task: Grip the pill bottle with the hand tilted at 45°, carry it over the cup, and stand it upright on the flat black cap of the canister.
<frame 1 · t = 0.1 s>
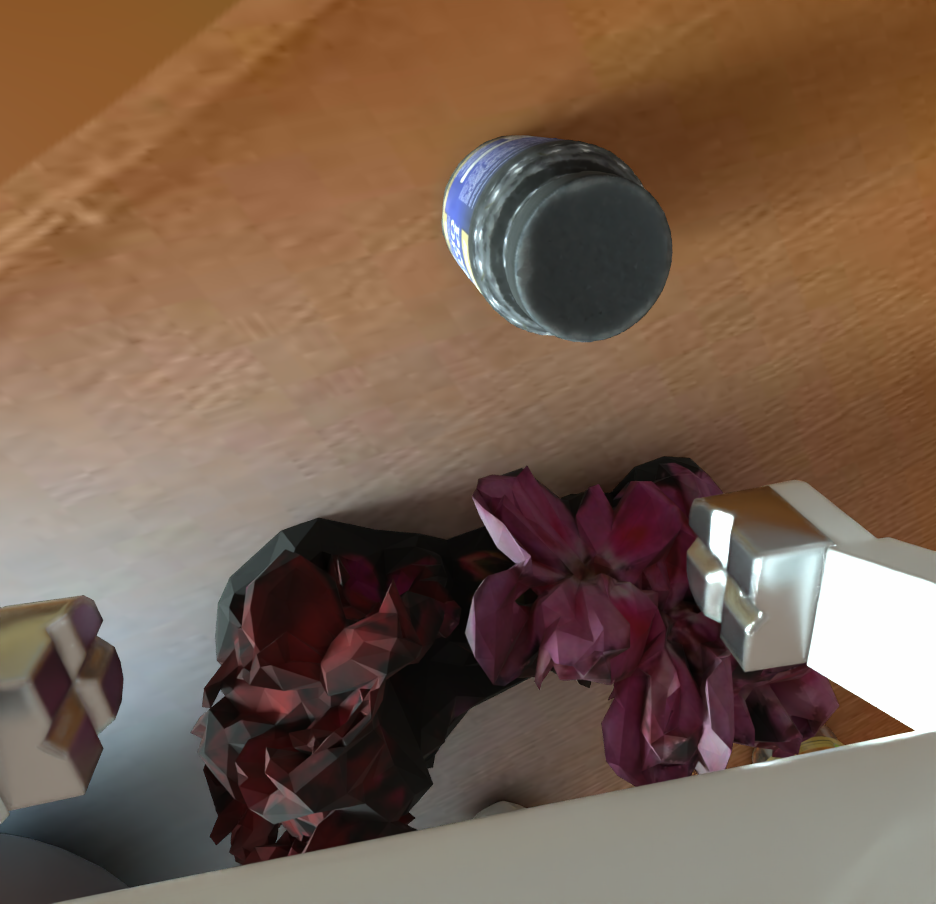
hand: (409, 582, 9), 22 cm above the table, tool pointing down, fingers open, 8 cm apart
flower arrangement: (478, 589, 38), on the table
sauce bottle: (784, 745, 48), on the table
pill bottle: (510, 213, 29), on the table
grey figurine: (506, 806, 46), on the table
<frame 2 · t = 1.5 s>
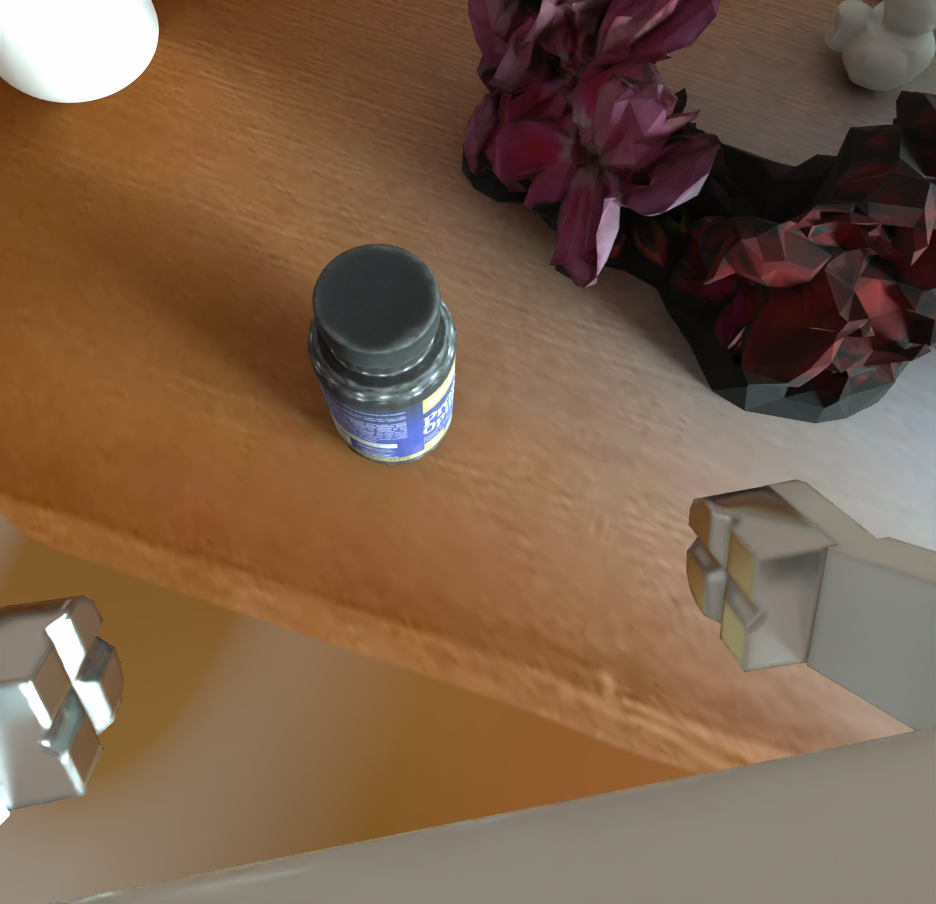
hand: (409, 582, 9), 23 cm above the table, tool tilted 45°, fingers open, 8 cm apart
flower arrangement: (678, 238, 40), on the table
cup: (84, 53, 42), on the table
pill bottle: (393, 412, 35), on the table
grey figurine: (856, 75, 44), on the table
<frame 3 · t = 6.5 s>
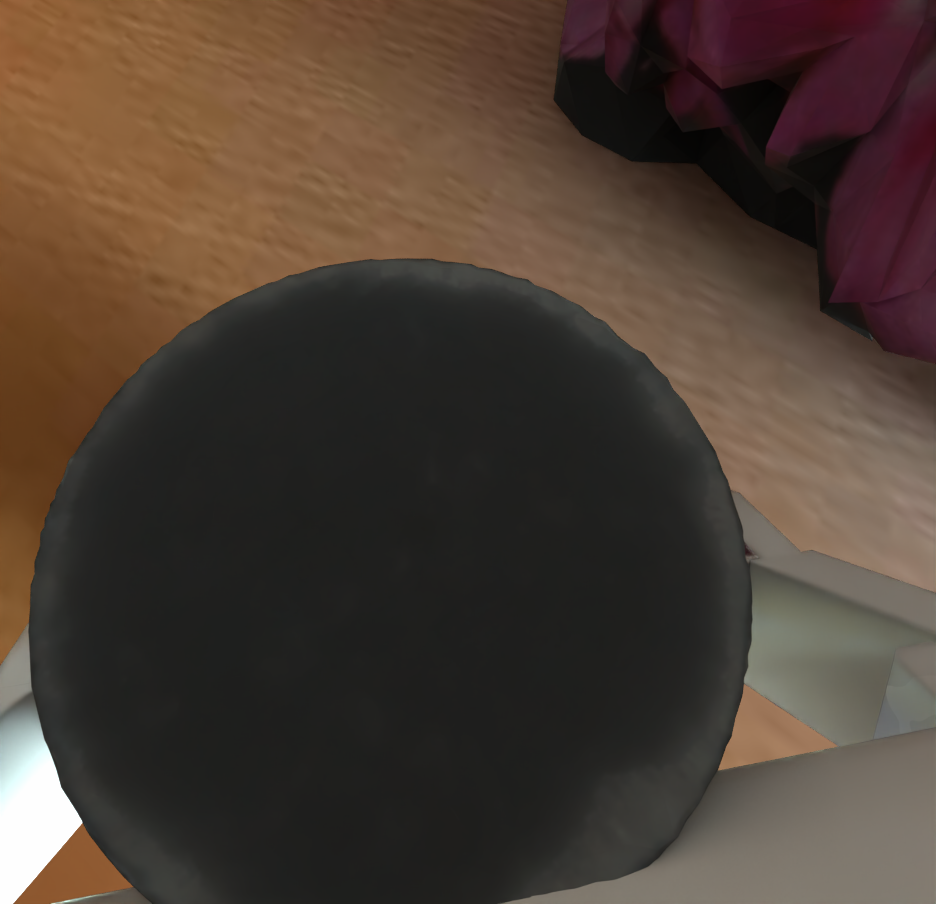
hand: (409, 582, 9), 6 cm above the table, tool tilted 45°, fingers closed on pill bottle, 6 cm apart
pill bottle: (426, 650, 15), on the table, touching gripper
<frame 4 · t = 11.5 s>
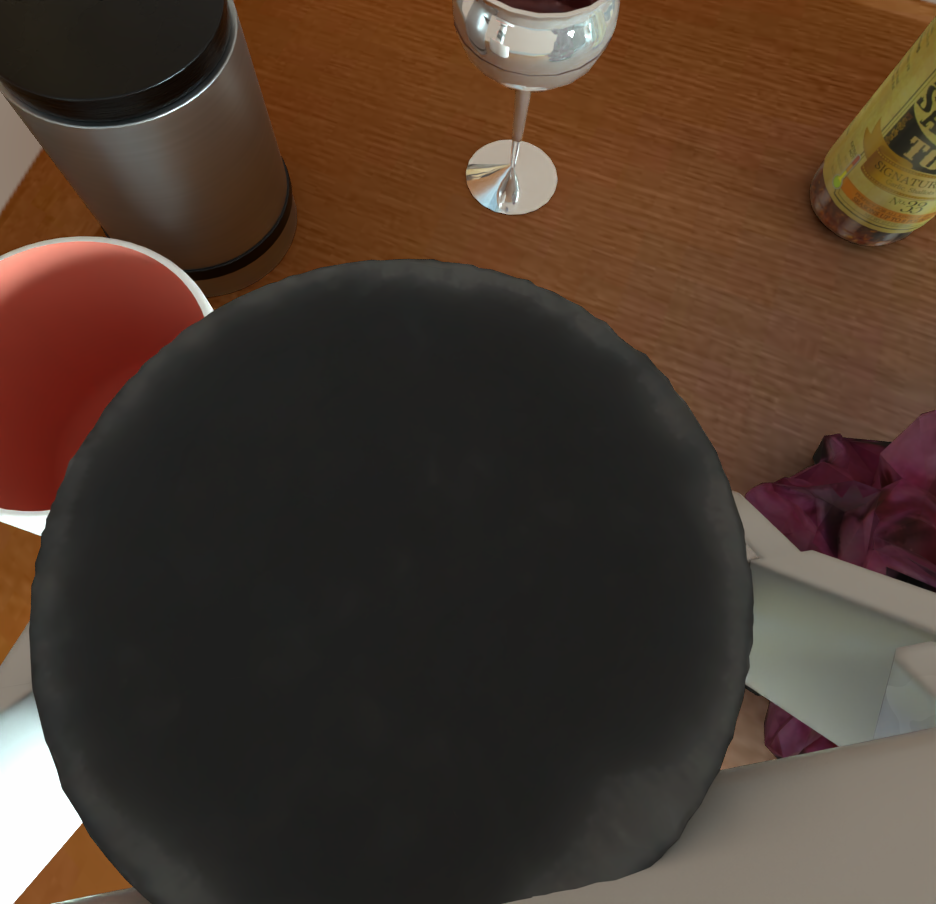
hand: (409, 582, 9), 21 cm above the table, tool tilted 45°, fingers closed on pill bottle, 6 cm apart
wineglass: (511, 178, 37), on the table
sauce bottle: (860, 208, 37), on the table
cup: (178, 463, 31), on the table
canister: (209, 221, 35), on the table
pill bottle: (427, 650, 15), point 15 cm above the table, touching gripper
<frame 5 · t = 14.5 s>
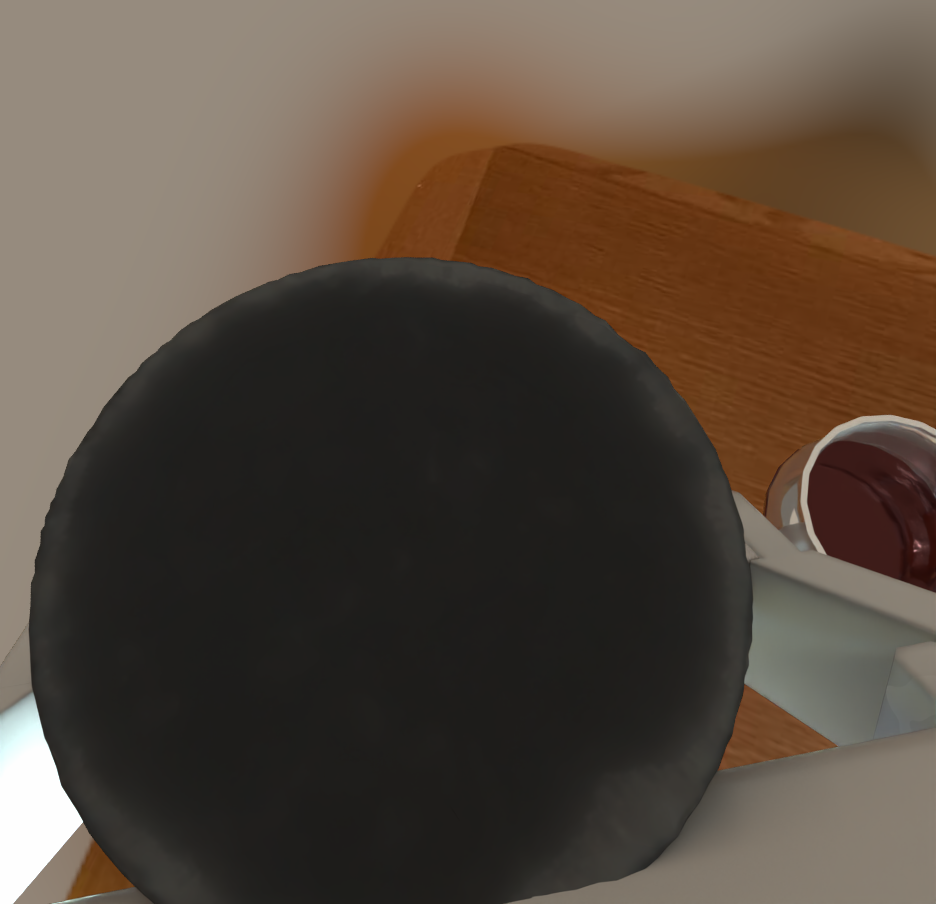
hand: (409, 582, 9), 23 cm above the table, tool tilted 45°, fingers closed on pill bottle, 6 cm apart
wineglass: (742, 570, 33), on the table
pill bottle: (426, 649, 15), point 17 cm above the table, touching gripper
when the fingers open (18 cm above the table, at t = 16.7 s): pill bottle stays where it is, resting on canister.
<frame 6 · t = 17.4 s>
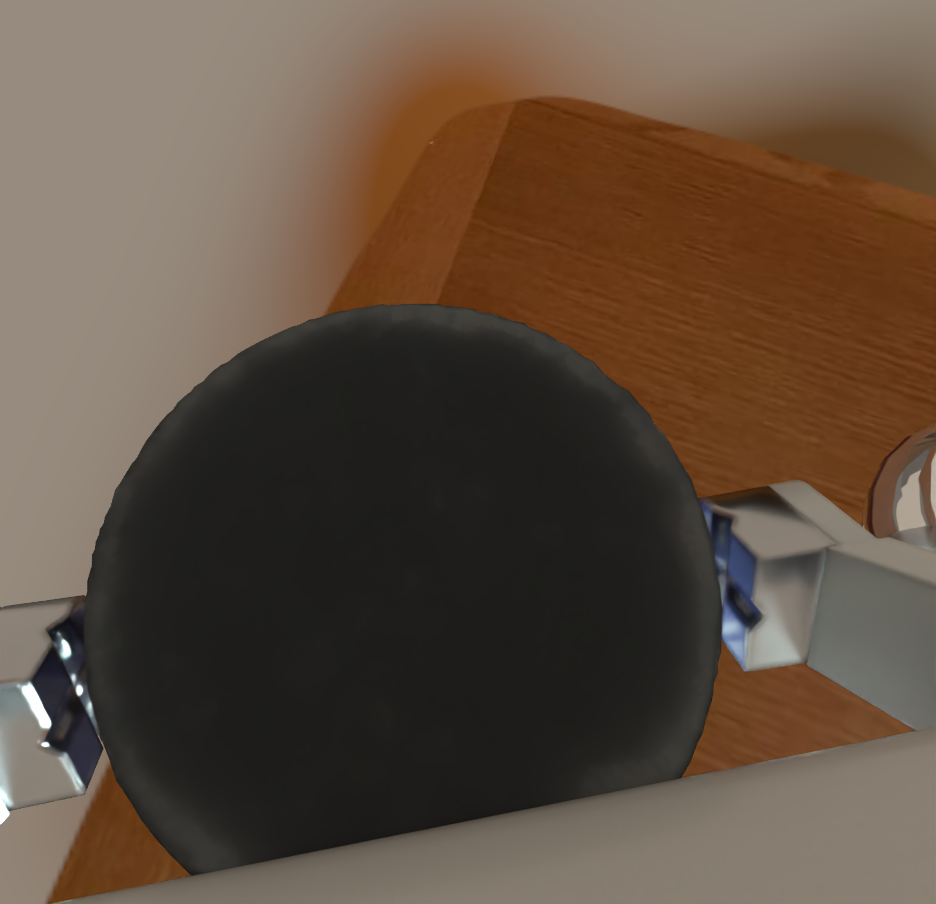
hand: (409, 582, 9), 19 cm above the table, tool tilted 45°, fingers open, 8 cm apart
wineglass: (810, 582, 29), on the table
pill bottle: (429, 651, 16), point 12 cm above the table, touching canister
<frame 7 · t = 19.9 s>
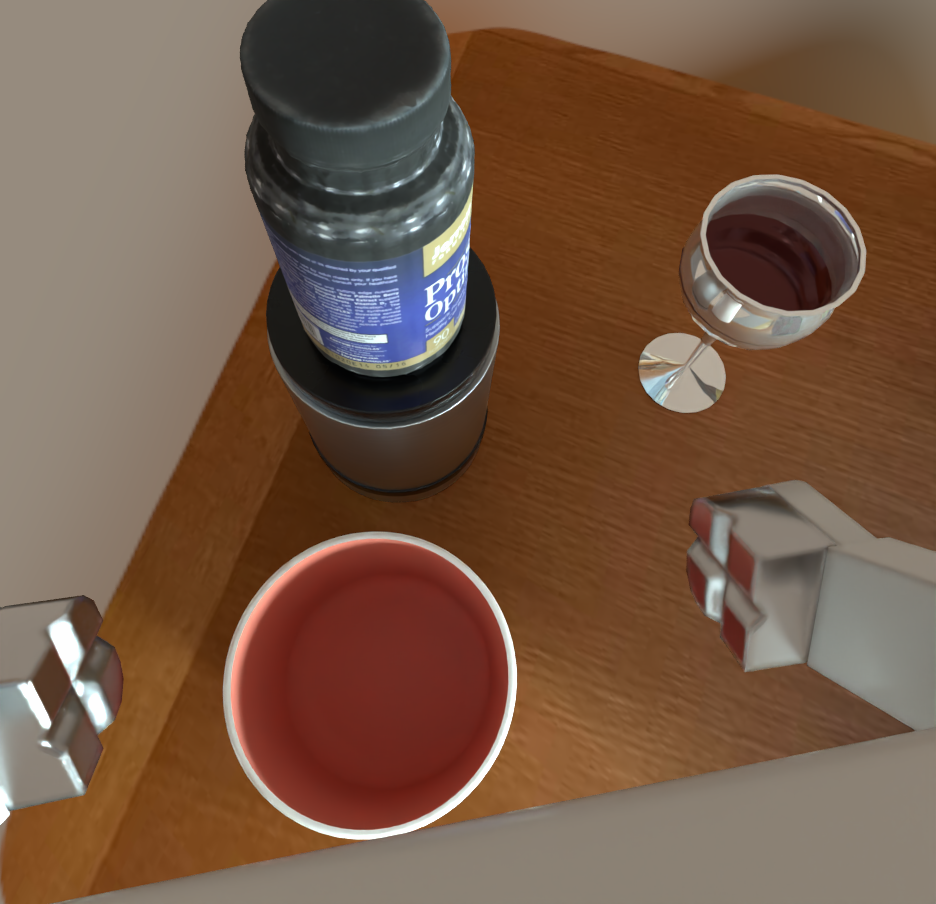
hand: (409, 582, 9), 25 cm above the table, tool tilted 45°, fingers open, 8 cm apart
wineglass: (680, 373, 39), on the table
cup: (391, 676, 33), on the table
canister: (399, 422, 37), on the table
pill bottle: (384, 309, 26), point 12 cm above the table, touching canister
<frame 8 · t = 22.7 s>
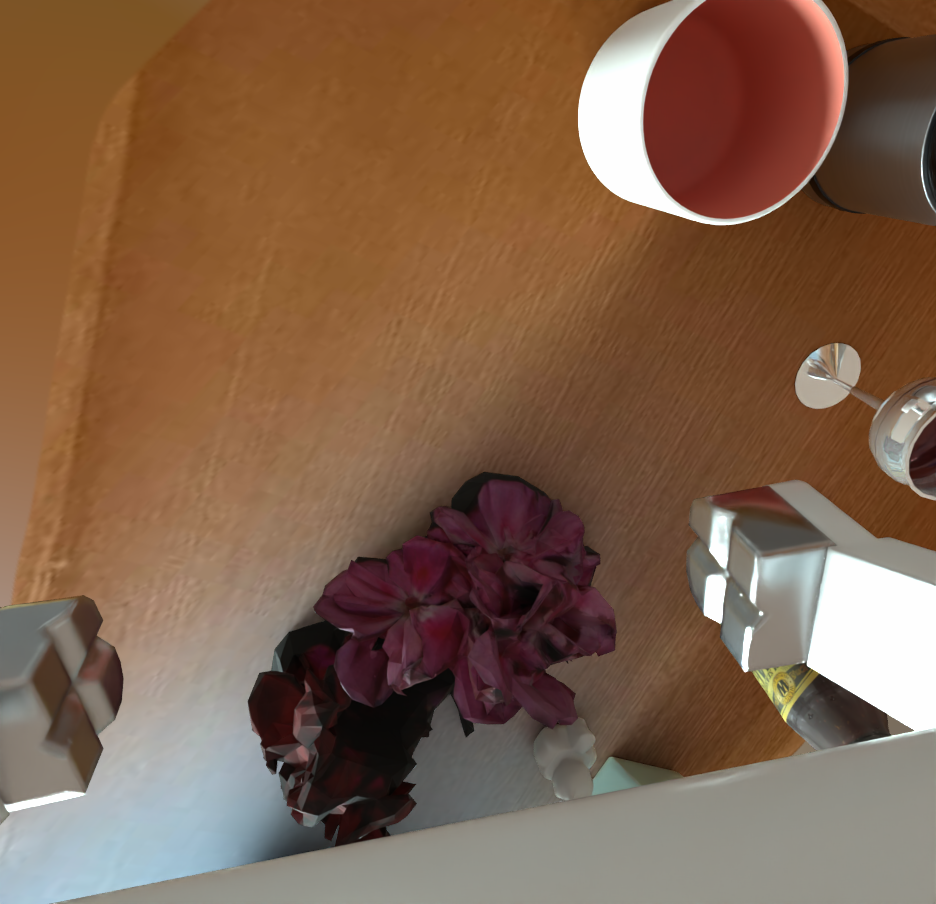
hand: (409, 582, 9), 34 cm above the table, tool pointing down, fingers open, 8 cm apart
flower arrangement: (418, 616, 53), on the table
wineglass: (826, 375, 49), on the table
sauce bottle: (741, 593, 57), on the table
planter: (612, 801, 66), on the table
cup: (654, 110, 39), on the table
canister: (857, 129, 41), on the table
grey figurine: (558, 727, 61), on the table
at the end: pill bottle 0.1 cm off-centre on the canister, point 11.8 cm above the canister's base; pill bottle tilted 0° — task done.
